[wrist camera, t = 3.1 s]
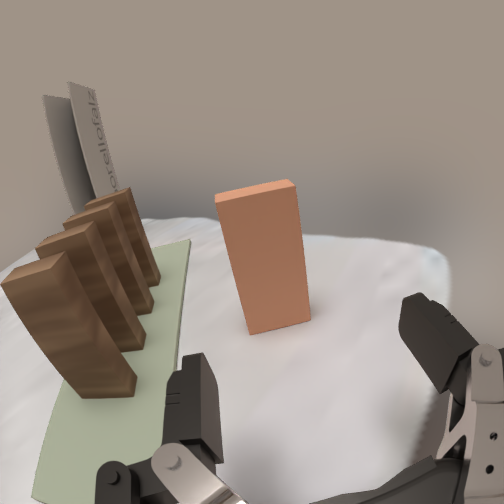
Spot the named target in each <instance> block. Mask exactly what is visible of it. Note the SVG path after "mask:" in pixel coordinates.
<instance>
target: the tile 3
mask: <svg viewBox="0 0 504 504" xmlns="http://www.w3.org/2000/svg"><path fill="white" fill-rule="evenodd" d="M35 250H36V252H37V254H38V256H39V258H40V259H43V258H46V257H49V256H52V255H55V254H58V253H61V252H65V251H66V253H67V256H68V258H69V260H70V262H71V264H72V266H73V269H74V271H75V273H76V275H77V277H78V279H79V281H80V283H81V285H82V287H83V289H84V291H85V293H86V294H87V296H88V298H89V300H90V302H91V304H92V306H93V307H94V309H95V311H96V313H97V314H98V316H99V318H100V320H101V321H102V323H103V325H104V326H105V328H106V330H107V331H108V333H109V335H110V336H111V338H112V339H113V341H114V343H115V344H116V346H117V347H118V349H119V350H120V352H121V353H124V352H131V351H139V350H143V348H144V344H145V339H146V335H147V334H146V332H145V330H144V328H143V326H142V325H141V323H140V321H139V319H138V317H137V315H136V313H135V311H134V309H133V307H132V305H131V303H130V301H129V299H128V297H127V295H126V293H125V291H124V289H123V287H122V285H121V283H120V280H119V278H118V276H117V274H116V272H115V269H114V267H113V265H112V263H111V260H110V258H109V256H108V253H107V251H106V248H105V246H104V243H103V241H102V238H101V236H100V233H99V231H98V228H97V226H96V223H95V221H92V222H89V223H86V224H83V225H80V226H77V227H74V228H71V229H69V230H66V231H63V232H60V233H57V234H55V235H52V236H50V237H47V238H46V239H45V240H43V242H41V243H40V244H39V245H38V246H37V247H36V248H35Z"/></svg>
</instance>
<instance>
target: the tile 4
mask: <svg viewBox="0 0 504 504" xmlns="http://www.w3.org/2000/svg"><path fill="white" fill-rule="evenodd" d="M92 221H95V223H96V226H97V228H98V231H99V233H100V236H101V238H102V241H103V243H104V246H105V248H106V251H107V253H108V256H109V258H110V260H111V263H112V265H113V267H114V269H115V272H116V274H117V276H118V278H119V280H120V283H121V285H122V287H123V289H124V291H125V293H126V295H127V297H128V299H129V301H130V303H131V305H132V307H133V309H134V311H135V313H136V315H137V316H141V315H146V314H151V313H152V310H153V306H154V302H155V301H154V299H153V297H152V295H151V292H150V290H149V288H148V285H147V283H146V281H145V278H144V276H143V274H142V271H141V269H140V267H139V264H138V262H137V259H136V257H135V254H134V252H133V249H132V246H131V244H130V241H129V239H128V236H127V233H126V230H125V228H124V225H123V222H122V219H121V217H120V214H119V211H118V208H117V205H116V202H115V201H113V202H110V203H107V204H104V205H101V206H98V207H95V208H92V209H89V210H87V211H84V212H81V213H78V214H75V215H73V216H71V217H70V218H69V219H67V220H66V221H65V222H64V223H63V226H64V228H65V231H66V230H69V229H71V228H74V227H77V226H80V225H83V224H86V223H89V222H92Z"/></svg>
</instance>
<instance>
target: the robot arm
mask: <svg viewBox="0 0 504 504" xmlns="http://www.w3.org/2000/svg"><path fill="white" fill-rule="evenodd" d="M399 333H400V336H401V338H402V340H403V341H404V343H405V344H406V345H407V347H408V348H409V350H410V351H411V352H412V354H413V355H414V357H415V358H416V360H417V361H418V362H419V364H420V365H421V367H422V368H423V370H424V371H425V373H426V374H427V375H428V377H429V378H430V380H431V381H432V383H433V384H434V386H435V387H436V389H437V390H438V392H439V394H441V393H443V392H445V391H447V390H448V389H449V390H450V392H451V395H450V398H449V407H448V415H447V422H446V428H445V434H444V438H443V440H442V443H441V445H440V447H439V450H438V453H437V456H436V459H435V460H433V458H432V456H429V457H427V458H425V459H423V460H421V461H419V462H418V463H416V464H414V465H412V466H410V467H408V468H406V469H404V470H403V471H401V472H400V473H399V474H398V475H396V476H395V477H394V478H392V479H391V480H389V481H388V482H387V483H385V484H384V485H382V486H381V487H380V488H378V489H375V490H370V491H363V492H356V493H348V494H341V495H338V496H335V497H331V498H328V499H324V500H321V501H317V502H313V503H309V504H504V348H502V349H499V350H497V349H496V348H495V347H493V346H492V345H489V344H481V345H479V344H478V343H477V341H476V340H475V339H474V338H473V337H472V336H471V335H470V334H469V332H468V331H467V330H466V329H465V328H464V327H463V326H462V325H461V324H460V323H459V322H458V321H457V320H456V319H455V317H454V316H453V315H451V313H450V312H449V311H448V310H447V309H446V308H445V307H444V306H443V305H441V304H439V303H437V302H435V301H433V300H432V301H430V300H429V299H428V298H427V297H426V296H425V295H424V294H422V293H420V292H419V293H416V294H413V295H411V296H408V297H406V298H404V299H403V301H402V307H401V314H400V320H399ZM221 463H224V459H223V448H222V436H221V423H220V409H219V394H218V386H217V382H216V378H215V376H214V374H213V372H212V370H211V368H210V366H209V363H208V361H207V359H206V357H205V355H204V354H203V353H197V354H192V355H186V356H183V358H182V370H179V371H173V372H172V374H171V376H170V378H169V380H168V381H167V386H166V397H165V408H164V420H163V435H162V443H161V446H160V447H159V448H158V449H157V450H156V451H155V452H154V454H153V456H152V457H150V458H149V459H146V460H144V461H140V462H137V463H134V464H130V465H127V466H126V465H125V464H123V463H121V462H119V461H108V462H106V463H104V464H103V465H102V466H101V467H100V468H99V469H98V471H97V475H96V485H95V503H94V504H177V503H180V504H249V503H248V502H246V501H245V500H244V499H243V498H241V497H240V496H239V495H238V494H237V493H236V492H234V491H233V490H232V489H231V488H230V487H229V486H228V485H226V484H225V483H224V482H223V481H222V480H221V479H220V478H219V477H218V476H217V475H216V467H215V464H221Z"/></svg>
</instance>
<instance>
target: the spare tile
mask: <svg viewBox="0 0 504 504" xmlns="http://www.w3.org/2000/svg"><path fill="white" fill-rule="evenodd" d="M215 204H216V208H217V212H218V216H219V220H220V224H221V228H222V232H223V236H224V240H225V244H226V248H227V252H228V255H229V259H230V263H231V267H232V271H233V275H234V278H235V282H236V286H237V290H238V293H239V297H240V301H241V304H242V308H243V312H244V315H245V319H246V323H247V326H248V330H249V334H250V335H253V334H257V333H262V332H266V331H270V330H274V329H278V328H283V327H287V326H290V325H294V324H298V323H302V322H306V321H310V320H311V318H310V307H309V296H308V285H307V275H306V266H305V257H304V248H303V239H302V231H301V224H300V216H299V208H298V201H297V194H296V187H295V185H294V184H293V183H292V182H290V181H289V180H288V179H285V180H279V181H274V182H269V183H265V184H260V185H255V186H250V187H246V188H241V189H237V190H232V191H228V192H223V193H219V194H215Z"/></svg>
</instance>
